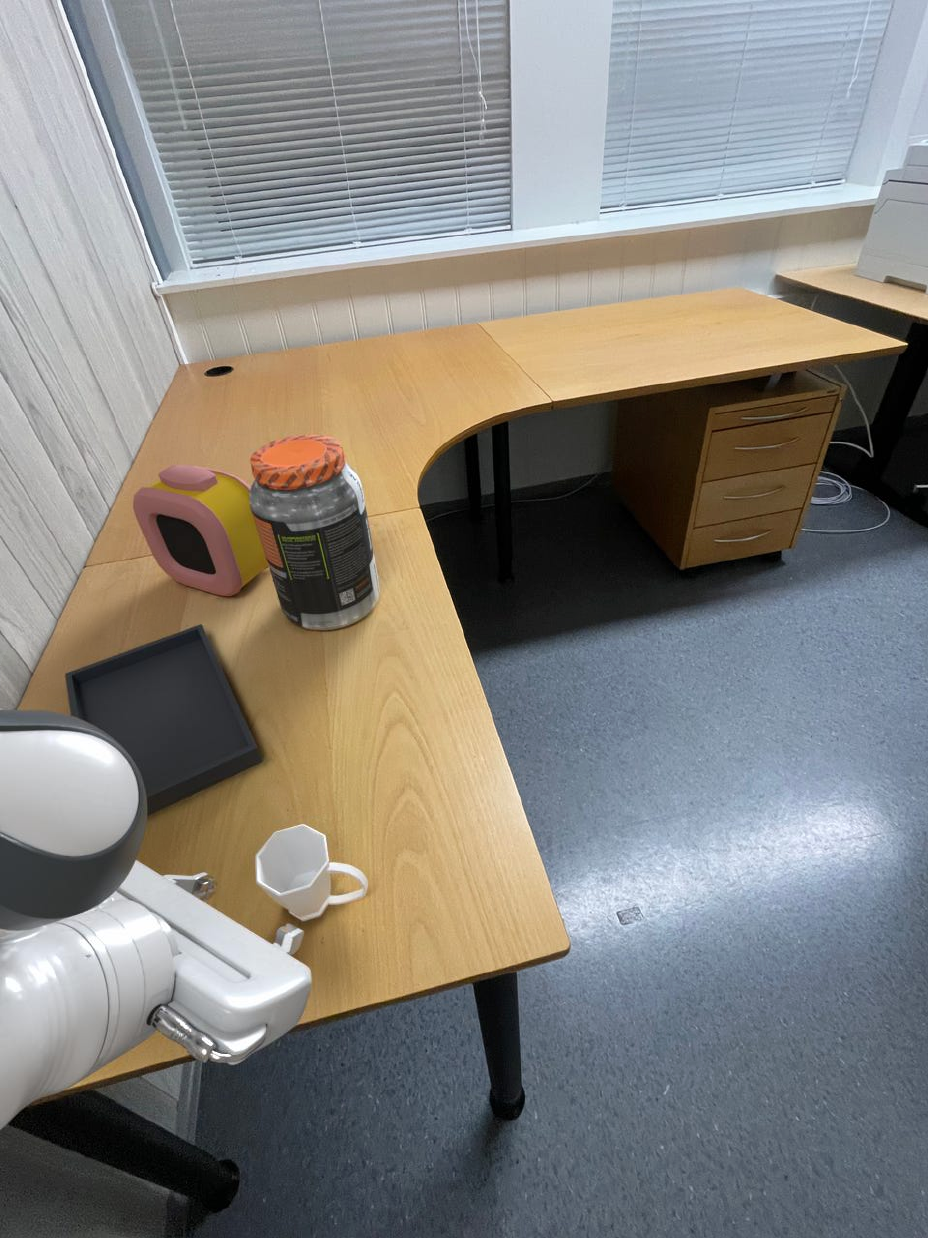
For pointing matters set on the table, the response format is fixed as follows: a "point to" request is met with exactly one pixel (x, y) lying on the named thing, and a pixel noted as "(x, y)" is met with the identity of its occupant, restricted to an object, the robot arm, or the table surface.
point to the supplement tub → (314, 531)
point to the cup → (302, 872)
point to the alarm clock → (201, 528)
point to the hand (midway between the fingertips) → (251, 909)
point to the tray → (167, 714)
